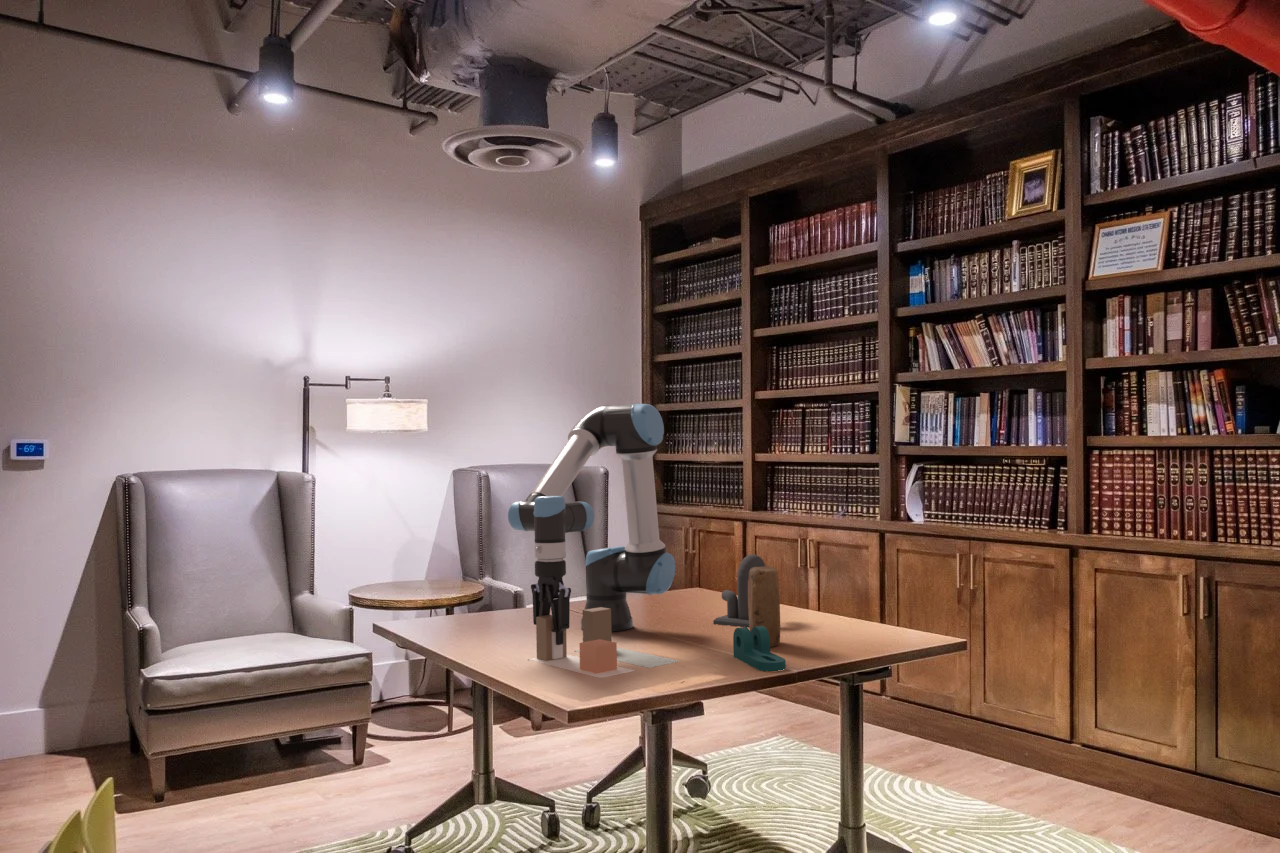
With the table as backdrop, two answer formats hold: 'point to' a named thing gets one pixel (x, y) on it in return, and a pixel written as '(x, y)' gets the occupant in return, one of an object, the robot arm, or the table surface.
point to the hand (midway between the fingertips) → (551, 656)
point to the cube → (598, 656)
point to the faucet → (739, 595)
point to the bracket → (756, 649)
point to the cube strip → (576, 666)
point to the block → (764, 601)
